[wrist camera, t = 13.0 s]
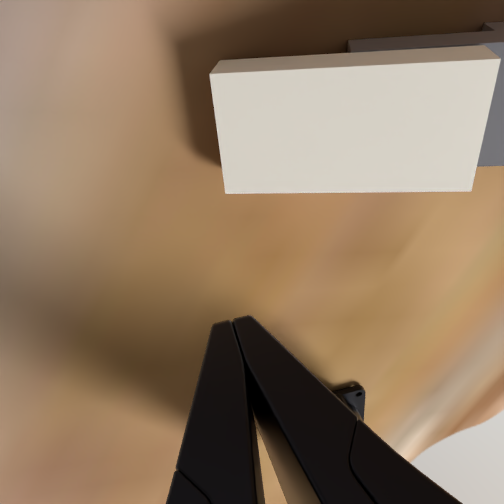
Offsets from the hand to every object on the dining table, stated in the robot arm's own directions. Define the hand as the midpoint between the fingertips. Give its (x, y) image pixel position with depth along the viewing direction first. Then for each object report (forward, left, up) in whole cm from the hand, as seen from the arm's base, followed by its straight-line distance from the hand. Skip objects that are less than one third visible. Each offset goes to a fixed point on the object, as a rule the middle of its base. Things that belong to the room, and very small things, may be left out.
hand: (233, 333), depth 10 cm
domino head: (0, -2, -12) cm, 12 cm away
